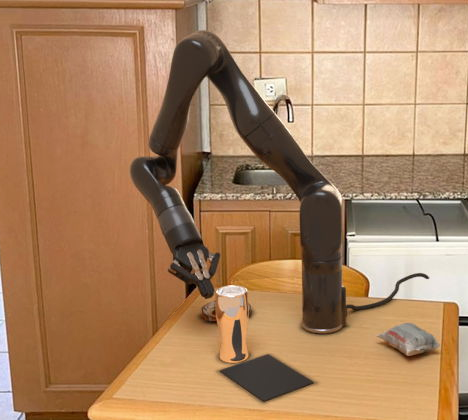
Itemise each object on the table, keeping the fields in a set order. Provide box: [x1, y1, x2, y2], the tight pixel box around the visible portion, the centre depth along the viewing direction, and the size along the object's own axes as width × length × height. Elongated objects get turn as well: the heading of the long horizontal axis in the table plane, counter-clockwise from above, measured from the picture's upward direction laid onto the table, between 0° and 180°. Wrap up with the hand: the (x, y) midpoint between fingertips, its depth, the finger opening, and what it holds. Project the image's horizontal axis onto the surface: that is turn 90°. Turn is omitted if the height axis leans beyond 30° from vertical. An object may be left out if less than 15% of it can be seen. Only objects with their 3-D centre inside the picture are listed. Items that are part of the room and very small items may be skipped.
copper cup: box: [214, 284, 250, 364], centre depth 170 cm, size 7×7×15 cm
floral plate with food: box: [201, 300, 253, 323], centre depth 193 cm, size 12×12×8 cm
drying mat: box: [219, 353, 315, 403], centre depth 163 cm, size 16×12×1 cm
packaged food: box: [376, 322, 441, 357], centre depth 174 cm, size 9×12×5 cm
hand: (209, 296), depth 176 cm, fingers closed
